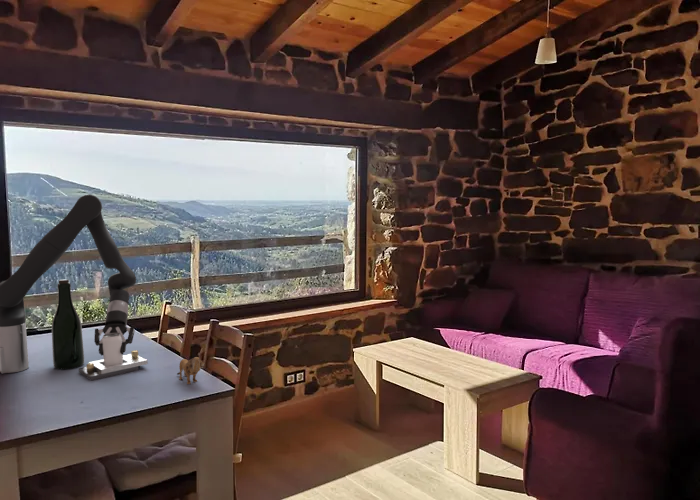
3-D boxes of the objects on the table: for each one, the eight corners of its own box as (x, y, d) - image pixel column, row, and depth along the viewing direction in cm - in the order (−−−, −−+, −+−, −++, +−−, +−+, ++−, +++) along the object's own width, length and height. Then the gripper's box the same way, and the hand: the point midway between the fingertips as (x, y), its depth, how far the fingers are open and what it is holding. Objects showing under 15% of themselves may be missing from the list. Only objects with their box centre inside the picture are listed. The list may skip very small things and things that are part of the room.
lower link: (91, 380, 189) (90, 369, 188) (79, 372, 198) (78, 361, 198) (138, 370, 200) (137, 359, 200) (124, 362, 209) (124, 352, 209)
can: (126, 364, 203) (124, 332, 202) (117, 369, 197) (115, 336, 196) (110, 363, 204) (108, 332, 203) (100, 369, 197) (98, 336, 196)
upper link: (101, 374, 191) (100, 362, 191) (88, 366, 200) (88, 355, 200) (147, 363, 202) (147, 353, 202) (133, 357, 212) (133, 346, 211)
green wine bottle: (71, 370, 200) (66, 281, 197) (46, 369, 202) (41, 281, 200) (90, 362, 211) (85, 277, 208) (66, 361, 213) (61, 277, 210)
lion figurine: (207, 382, 185) (206, 356, 184) (193, 386, 181) (192, 360, 180) (183, 374, 195) (182, 349, 194) (170, 377, 191) (168, 352, 190)
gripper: (94, 310, 204) (88, 349, 194) (135, 308, 207) (130, 347, 197) (99, 321, 210) (92, 360, 200) (138, 319, 213) (134, 357, 202)
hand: (111, 353), depth 198 cm, fingers closed on can, 6 cm apart
